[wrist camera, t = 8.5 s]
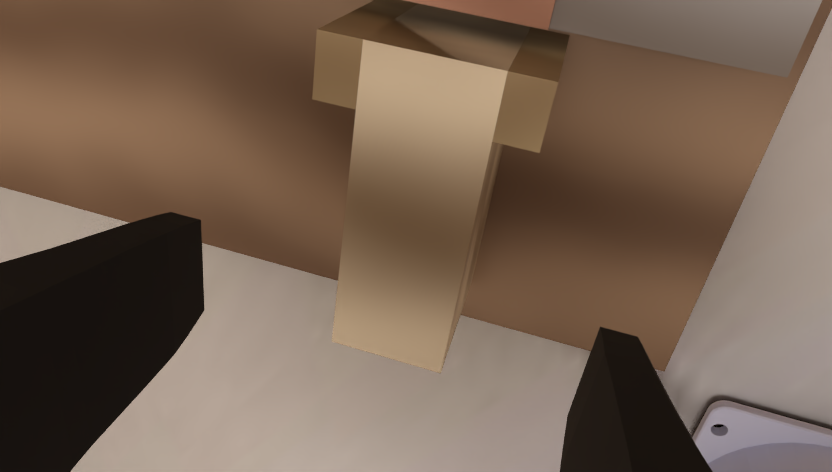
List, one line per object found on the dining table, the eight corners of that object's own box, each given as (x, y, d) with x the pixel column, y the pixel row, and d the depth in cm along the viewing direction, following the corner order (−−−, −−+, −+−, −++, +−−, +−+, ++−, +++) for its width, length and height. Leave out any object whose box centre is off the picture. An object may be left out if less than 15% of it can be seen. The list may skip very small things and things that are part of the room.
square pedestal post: (502, 290, 20) (477, 384, 17) (353, 249, 21) (297, 331, 17) (569, 35, 16) (558, 82, 12) (382, -5, 17) (316, 29, 13)
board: (661, 351, 21) (670, 431, 18) (-64, 152, 25) (-156, 190, 22) (837, -39, 15) (895, -19, 12) (-158, -218, 19) (-305, -238, 16)
